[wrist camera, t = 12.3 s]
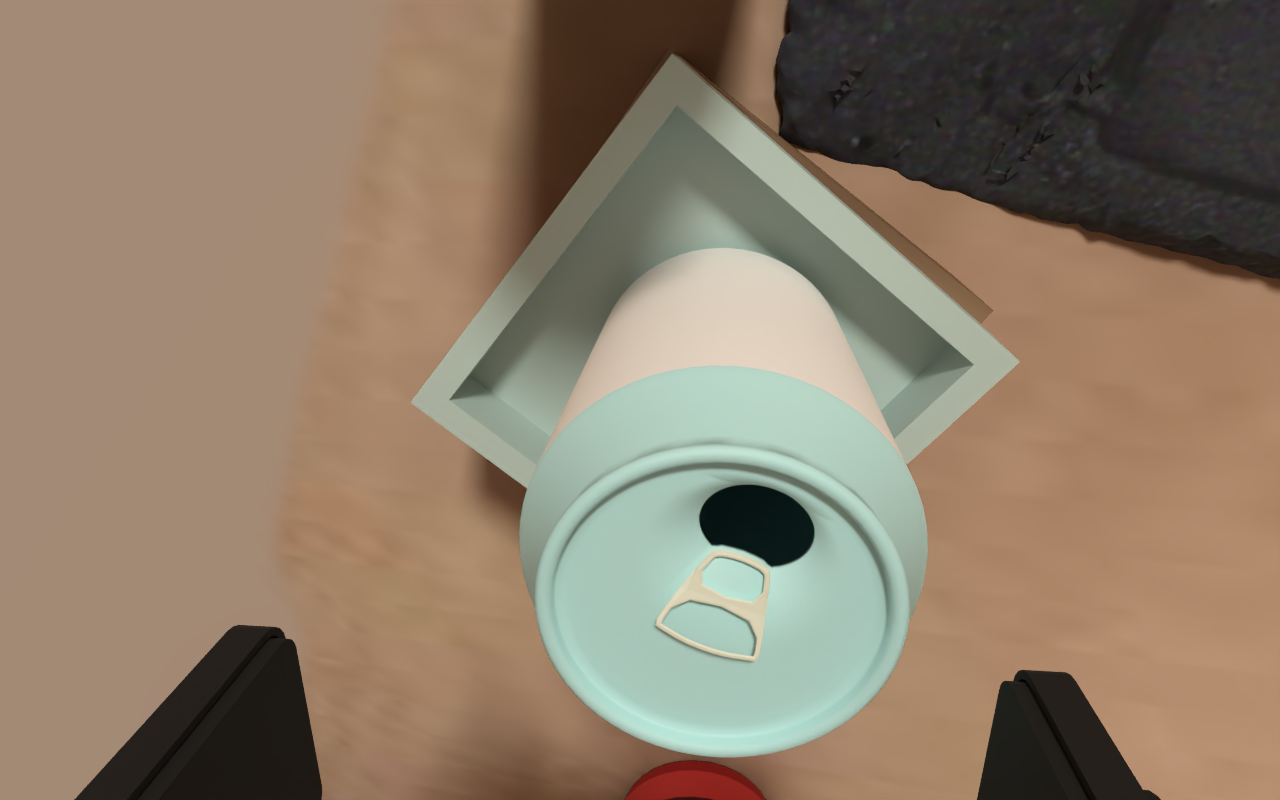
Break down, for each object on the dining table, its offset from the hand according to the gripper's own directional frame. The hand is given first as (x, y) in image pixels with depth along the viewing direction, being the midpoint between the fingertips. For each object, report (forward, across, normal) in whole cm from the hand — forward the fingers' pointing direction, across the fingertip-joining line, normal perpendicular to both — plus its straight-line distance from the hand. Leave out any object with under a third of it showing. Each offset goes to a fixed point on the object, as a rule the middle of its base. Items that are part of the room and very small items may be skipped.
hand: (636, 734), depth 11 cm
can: (+14, -1, -1) cm, 14 cm away
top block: (+16, -1, -1) cm, 16 cm away
